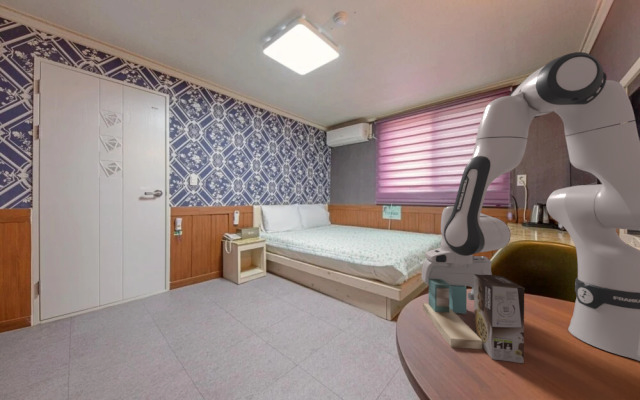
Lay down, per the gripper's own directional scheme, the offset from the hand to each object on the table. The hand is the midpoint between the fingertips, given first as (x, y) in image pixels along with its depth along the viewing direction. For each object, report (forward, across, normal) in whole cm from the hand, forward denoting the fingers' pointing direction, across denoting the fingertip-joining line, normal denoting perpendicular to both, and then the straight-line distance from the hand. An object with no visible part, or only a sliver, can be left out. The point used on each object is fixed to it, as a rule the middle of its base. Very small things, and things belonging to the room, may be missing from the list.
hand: (455, 298), depth 75 cm
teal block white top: (+3, 0, 0) cm, 3 cm away
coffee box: (+4, 0, +20) cm, 20 cm away
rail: (+3, +7, +11) cm, 13 cm away
